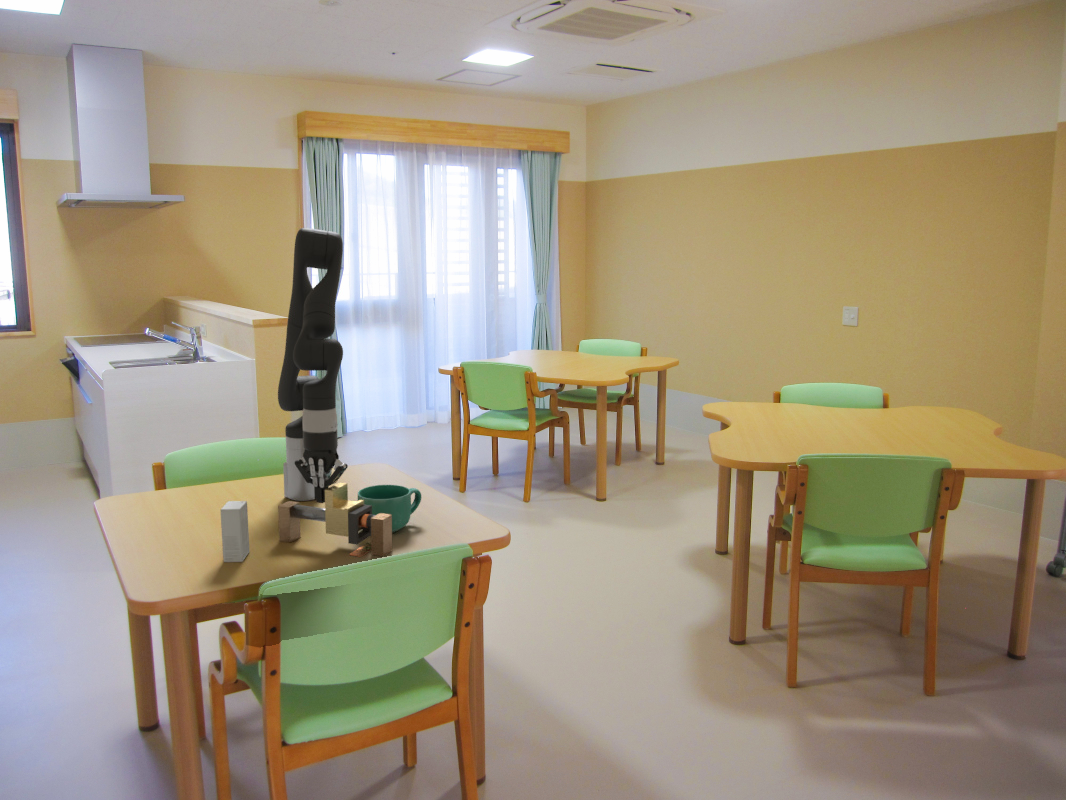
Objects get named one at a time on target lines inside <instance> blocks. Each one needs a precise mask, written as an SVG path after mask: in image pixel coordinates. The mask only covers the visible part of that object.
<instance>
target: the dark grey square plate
mask: <svg viewBox="0 0 1066 800" xmlns="http://www.w3.org/2000/svg"><path fill="white" fill-rule="evenodd" d="M363 514H371V515H372V505H365V504H364V505H362V506H360V507H359V508H357V509H355V510H353V511H351V512H349V513H348V537H347V538H348V540H347V541H348V545H349V544H351V545H358V544H360V543H362V542H363V541H364V540H366V539H368V538H369V537H371V528H365V527H362V530H360V531H359V524H358V517H360V516H362V515H363Z"/></svg>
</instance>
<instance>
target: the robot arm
mask: <svg viewBox="0 0 1066 800" xmlns="http://www.w3.org/2000/svg"><path fill="white" fill-rule="evenodd" d="M343 243H344V242H343V239H342V236H341V234H339V233H338V232H335V231H330V230H323V229H315V228H310V227H301V228H299V230H298V231H297V233H296V236H295V241H294V253H293V273H292V289H291V296H290V302H289V309H288V315H287V323H286V325H287V326H286V336H285V337H286V338H285V346H284V347H285V348H284V357H283V362H282V367H281V372H280V376H279V381H278V388H277V401H278V402H277V403H278V406H279V407H280V409H281V410H282V411H285V412H298V411H302V416H300V417H298V418H297V419H294V420H293V421H291V422H289V423H287V425H285V428H284V429H285V449H286V450H285V453H286V455H285V456H286V458H285V459H286V461H284V463H283V467H282V468H283V492H284V498H287V499H289V500H290V501H295V502H298V501H299V502H300V501H301V502H303V501H314V500H315V502H316V503H320V504H325V489H327V488H329V487H331V486H333V484H334V485H335V484H337V483H338V481H339V479H340V478H341V477H342V475H343V474H345V472H346V470H347V469H348V464H347V463H345V462H344V463H343V462H342V461H341V460H340V459H339V458H340V455H339V454H338V446H339V441H338V440H339V439H338V438H339V437H338V415H337V407H336V406H337V404H336V403H337V401H336V399H337V398H336V396H337V395H336V389H337V380H338V376H339V372H340V368H341V365H342V361H343V357H344V350H343V349H344V348H343V346H342V344H341V343H340V341H339V340H338V339H336V338H330V337H331V336H332V335H334V332H335V329H336V302H337V301H336V300H337V295H338V289H339V283H340V279H341V278H340V276H341V269H342V261H343V255H344V254H343V251H344V249H343V248H344V244H343ZM308 268H312V269H320V270H326V273H325V275H324V276H323V277H322V278H321V280H320V281H319V282H318V283H317V284H316V285H314V287H313V286H312V283H311V281H310V279H309V274H308V270H307V269H308ZM301 371H306V372H307V371H325V372H326V374H325V375H324V376H323V377H322V378H318V376H316V375H299V373H300V372H301ZM332 469H334V471H332Z"/></svg>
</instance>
